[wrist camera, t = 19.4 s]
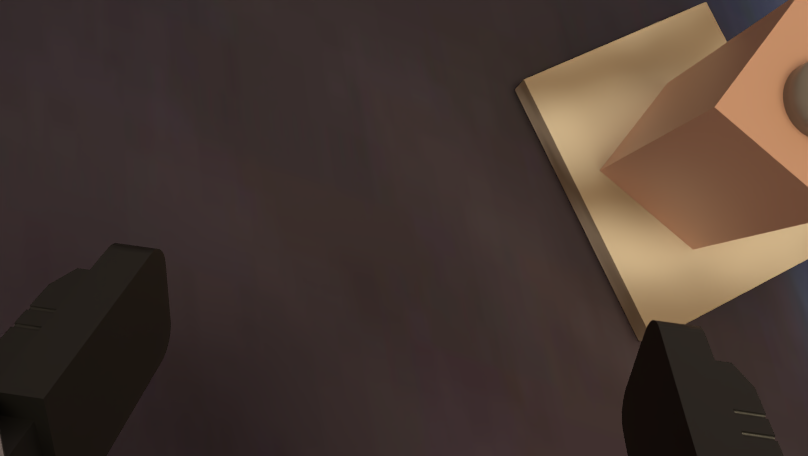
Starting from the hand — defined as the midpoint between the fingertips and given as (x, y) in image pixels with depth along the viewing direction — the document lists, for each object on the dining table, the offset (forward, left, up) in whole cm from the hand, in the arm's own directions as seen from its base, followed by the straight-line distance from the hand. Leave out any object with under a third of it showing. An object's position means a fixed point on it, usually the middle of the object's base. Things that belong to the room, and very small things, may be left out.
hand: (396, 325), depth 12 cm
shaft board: (0, +19, -23) cm, 30 cm away
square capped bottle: (0, +19, -21) cm, 29 cm away
